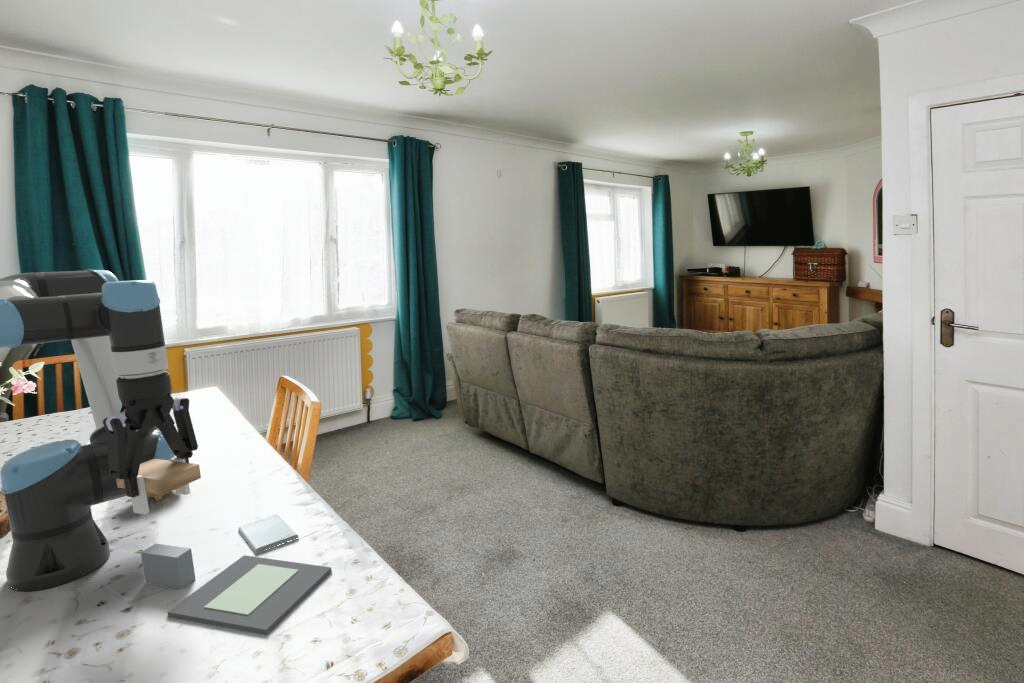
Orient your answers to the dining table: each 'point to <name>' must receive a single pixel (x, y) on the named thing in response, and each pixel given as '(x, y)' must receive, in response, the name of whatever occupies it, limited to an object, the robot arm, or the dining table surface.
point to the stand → (168, 566)
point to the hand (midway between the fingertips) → (162, 502)
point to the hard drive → (267, 533)
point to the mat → (251, 594)
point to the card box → (165, 475)
